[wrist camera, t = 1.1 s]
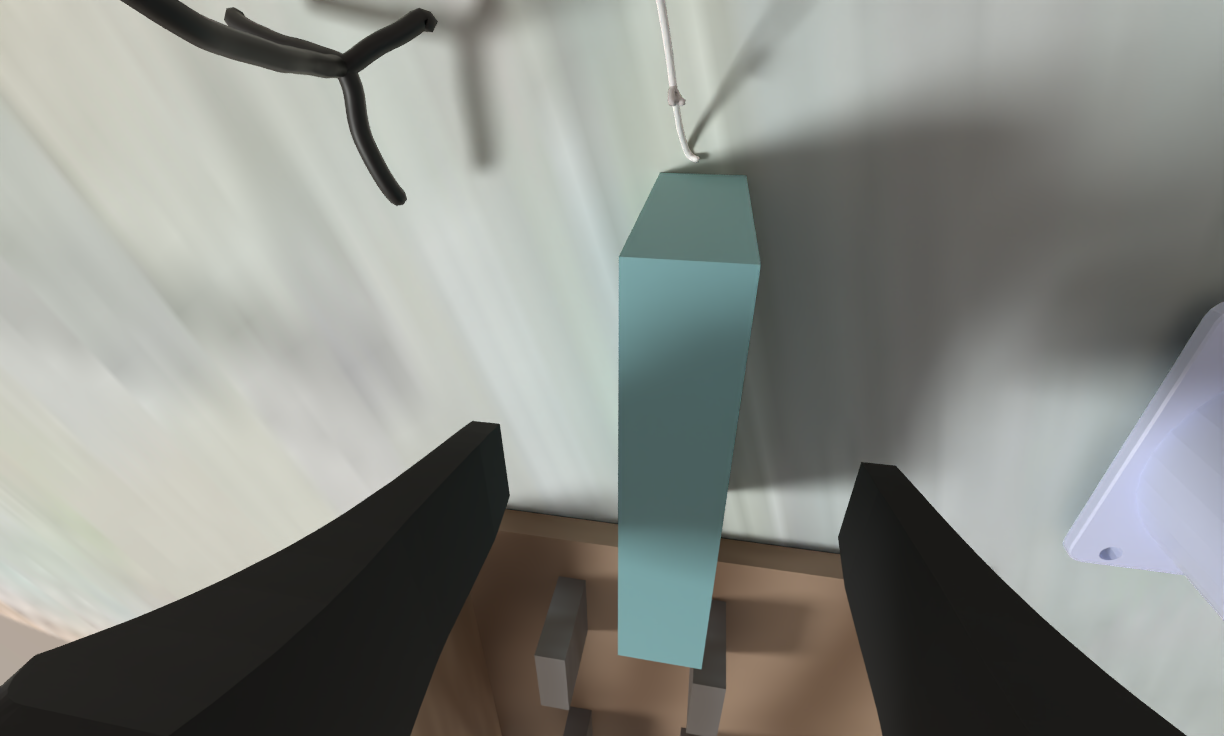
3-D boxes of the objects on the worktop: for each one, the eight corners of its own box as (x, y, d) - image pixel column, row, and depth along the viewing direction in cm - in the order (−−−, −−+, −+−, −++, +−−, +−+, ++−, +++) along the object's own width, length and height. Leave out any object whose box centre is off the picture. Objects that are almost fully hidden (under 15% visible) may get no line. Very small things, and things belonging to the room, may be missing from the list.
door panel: (746, 174, 13) (760, 264, 7) (708, 490, 18) (701, 669, 13) (660, 171, 13) (618, 256, 8) (647, 483, 18) (617, 654, 13)
